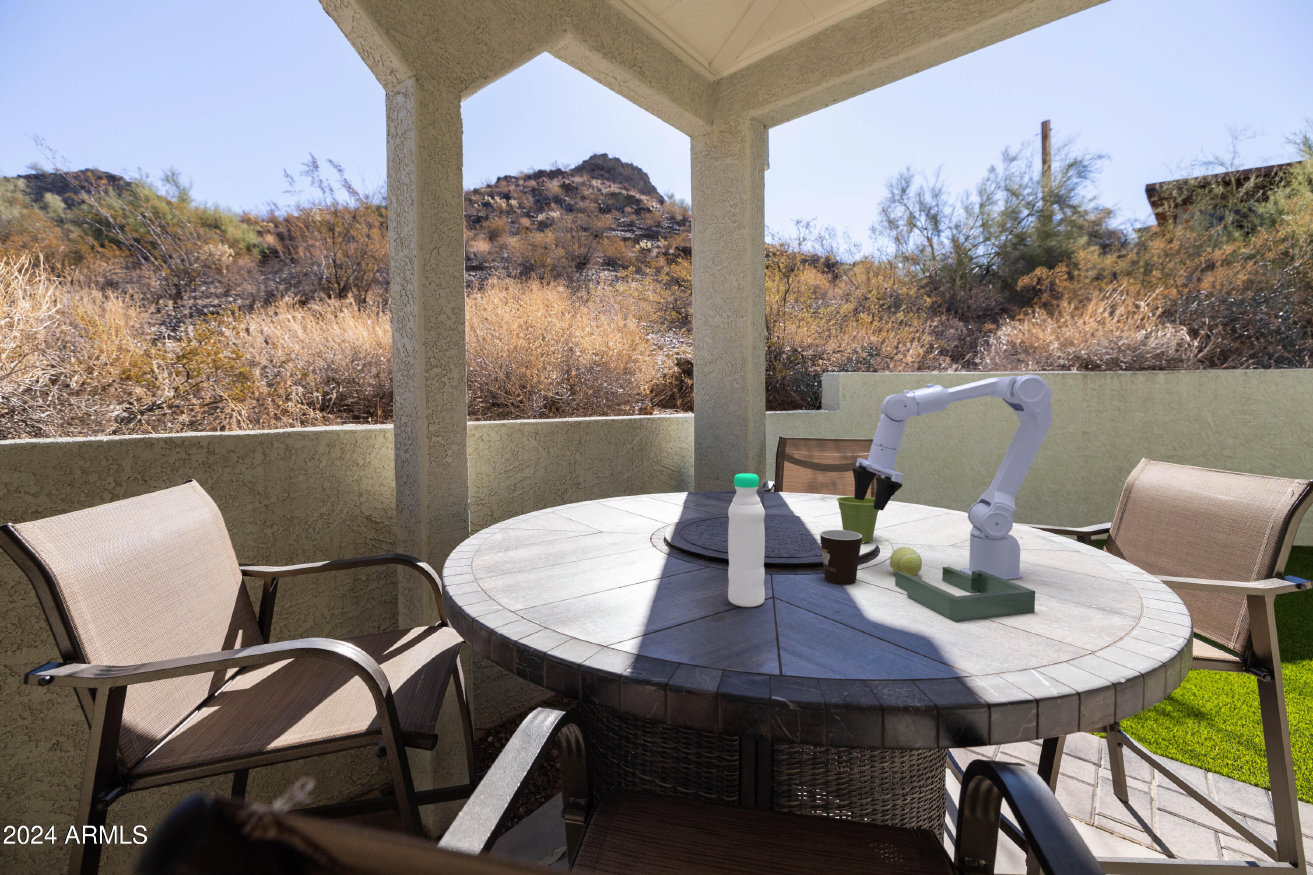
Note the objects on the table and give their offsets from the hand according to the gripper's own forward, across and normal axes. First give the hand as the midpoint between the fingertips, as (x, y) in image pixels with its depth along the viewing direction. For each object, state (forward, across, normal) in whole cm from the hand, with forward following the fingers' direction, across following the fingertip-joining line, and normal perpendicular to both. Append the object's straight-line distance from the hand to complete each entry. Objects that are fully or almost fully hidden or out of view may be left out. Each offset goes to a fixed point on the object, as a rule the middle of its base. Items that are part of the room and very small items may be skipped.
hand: (868, 504), depth 132 cm
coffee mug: (+16, +6, -6) cm, 18 cm away
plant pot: (+14, -21, +16) cm, 30 cm away
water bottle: (+21, +14, -30) cm, 40 cm away
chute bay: (+11, +22, +8) cm, 26 cm away
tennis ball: (+13, +8, +9) cm, 17 cm away
